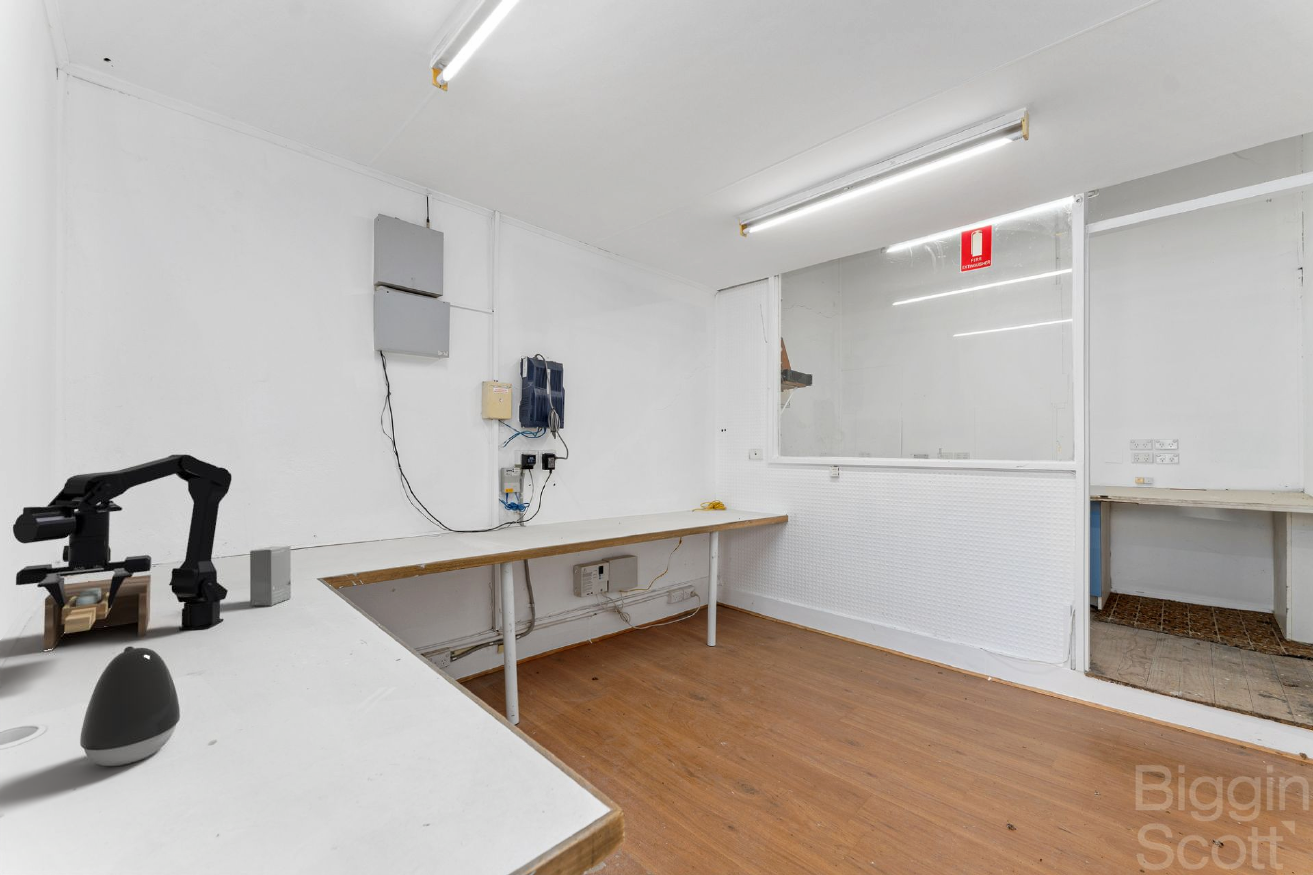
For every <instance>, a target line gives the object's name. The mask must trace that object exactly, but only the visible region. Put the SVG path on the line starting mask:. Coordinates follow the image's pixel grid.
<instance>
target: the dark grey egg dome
mask: <svg viewBox="0 0 1313 875" xmlns="http://www.w3.org/2000/svg"><path fill="white" fill-rule="evenodd" d="M170 672H171V671H170V670H169V668H168V666H167V664H166V662H165V661H164V659H163V658H162V657H161V656H160V655H159V654H158V653H157V651H155V650H153V649H151V648H146V647H136V648H135V647H133V646H130V645H129V646H127V647H125V648H124V649H123V652H121V653H119V654H118V655H116V656H115V657H114V658H112V659H111V661H110V662H109V663H108V665H106V667H105V668H104V670H103V672H102V673H101V675H100V677H99V678H98V681H97V682H96V684H95V687H94V689H93V692H92V693H91V694H92V695H91V697H90V700H89V702H88V706H87V707H86V712H85V714H84V719H83V722H82V727H81V731H80V736H79V737H80V738H79V744H80V747H81V748H82V749H83V750H84V753H85V755H86V756H87V758H88V759H89V760H90V761H91V762H93V763H94V764H96V765H99V766H103V767H118V766H124V764H125V765H129V764H132V762H133V763H135V762H138V761H141V760H143V759H145V758H147V757H150V756H151V755H153V754H155V753H156V752H157V751H159V750H160V749H161V748H163V747H164V746H165V745H166V744H167V743H168V741H169V740H170V739H171V737H172V736H173V733H174V732H175V729H176V727H177V724H178V723H179V721H180V718H181V710H180V703H179V702H180V701H179V698H178V693H177V689H176V686H175V683H174V680H173V677H172V674H171V673H170Z"/></svg>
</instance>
